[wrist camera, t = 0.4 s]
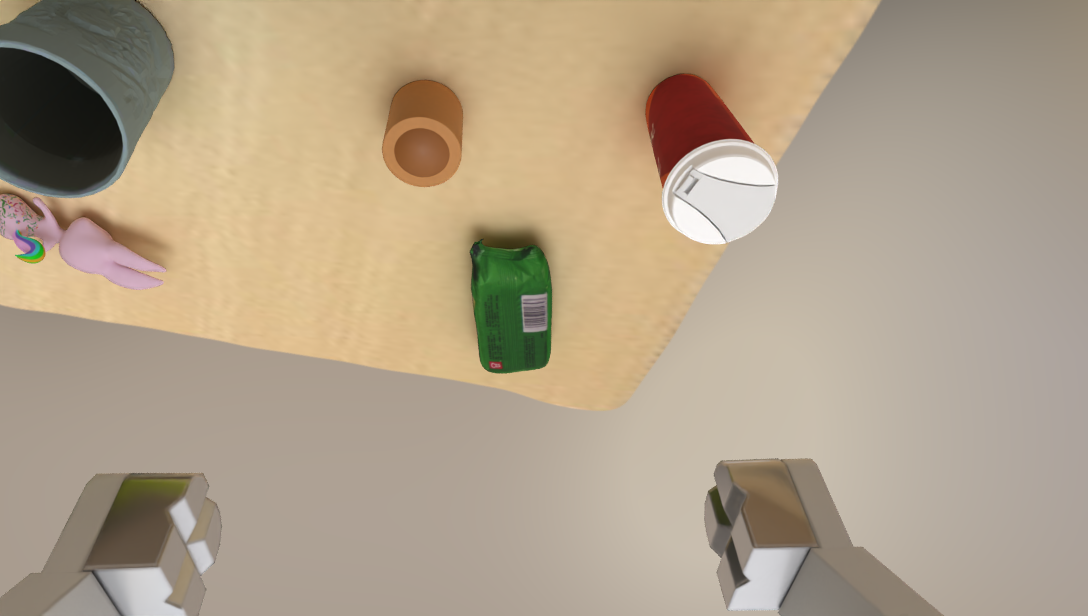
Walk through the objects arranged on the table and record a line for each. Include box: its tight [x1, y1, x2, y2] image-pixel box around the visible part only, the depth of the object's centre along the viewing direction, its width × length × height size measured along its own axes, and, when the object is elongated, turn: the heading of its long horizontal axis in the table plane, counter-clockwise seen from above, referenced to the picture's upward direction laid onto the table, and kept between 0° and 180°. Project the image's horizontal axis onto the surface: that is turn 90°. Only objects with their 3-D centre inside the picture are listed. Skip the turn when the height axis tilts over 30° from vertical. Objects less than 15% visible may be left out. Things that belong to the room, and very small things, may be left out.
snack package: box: [470, 239, 552, 373], centre depth 67 cm, size 7×16×5 cm, turn 0°
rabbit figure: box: [0, 194, 166, 290], centre depth 59 cm, size 6×6×15 cm
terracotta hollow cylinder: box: [382, 80, 463, 187], centre depth 54 cm, size 6×6×7 cm
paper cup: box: [646, 74, 778, 244], centre depth 52 cm, size 8×8×14 cm
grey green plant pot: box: [0, 0, 174, 198], centre depth 47 cm, size 10×10×12 cm
